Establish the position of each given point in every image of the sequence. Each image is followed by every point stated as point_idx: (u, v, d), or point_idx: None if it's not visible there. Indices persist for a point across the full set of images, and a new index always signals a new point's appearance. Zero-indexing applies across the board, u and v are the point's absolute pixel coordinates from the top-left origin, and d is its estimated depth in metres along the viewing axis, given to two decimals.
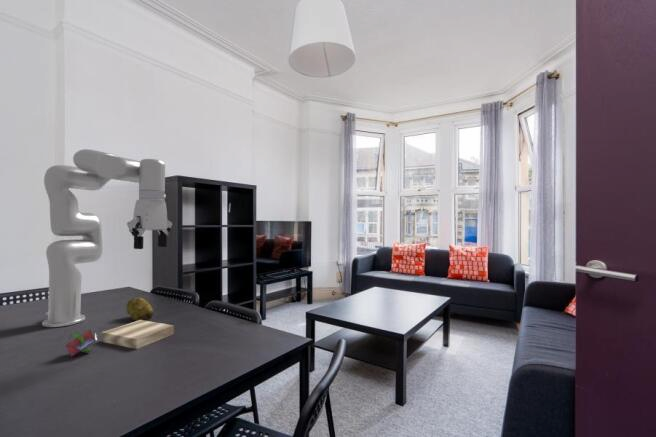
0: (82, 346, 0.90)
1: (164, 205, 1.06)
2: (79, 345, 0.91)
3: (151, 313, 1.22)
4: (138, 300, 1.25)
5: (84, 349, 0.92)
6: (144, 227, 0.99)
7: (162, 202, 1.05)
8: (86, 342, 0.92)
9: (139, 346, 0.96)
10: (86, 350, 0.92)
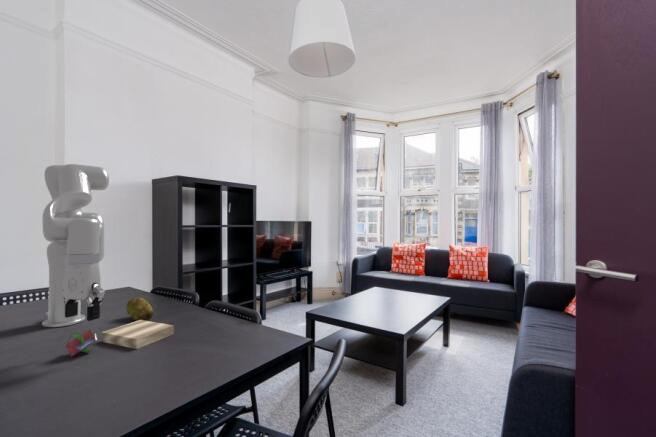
0: (82, 346, 0.90)
1: None
2: (79, 345, 0.91)
3: (151, 313, 1.22)
4: (138, 300, 1.25)
5: (84, 349, 0.92)
6: None
7: None
8: (86, 342, 0.92)
9: (139, 346, 0.96)
10: (86, 350, 0.92)
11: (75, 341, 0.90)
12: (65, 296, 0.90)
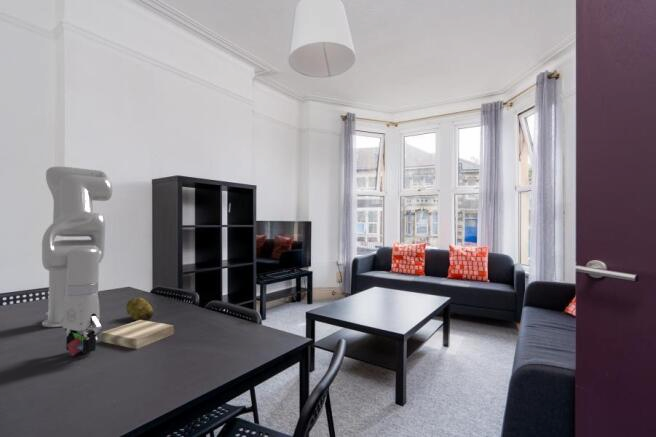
0: (82, 346, 0.90)
1: None
2: (79, 345, 0.91)
3: (151, 313, 1.22)
4: (138, 300, 1.25)
5: None
6: None
7: None
8: None
9: (139, 346, 0.96)
10: None
11: (75, 341, 0.90)
12: (64, 326, 0.90)
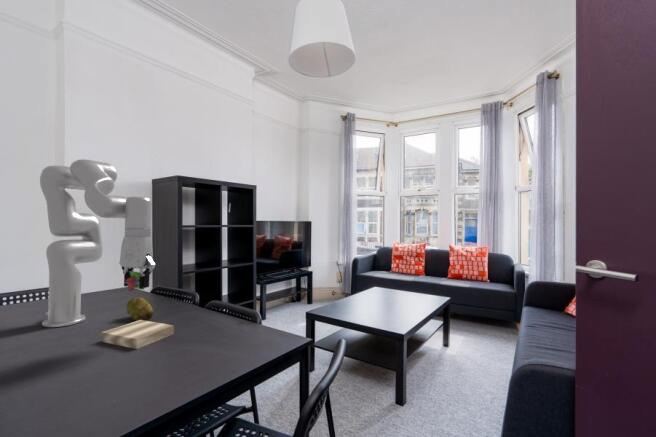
0: (138, 282, 1.02)
1: None
2: (135, 281, 1.03)
3: (151, 313, 1.22)
4: (138, 300, 1.25)
5: None
6: None
7: None
8: None
9: (139, 346, 0.96)
10: None
11: (132, 278, 1.03)
12: (122, 264, 1.03)
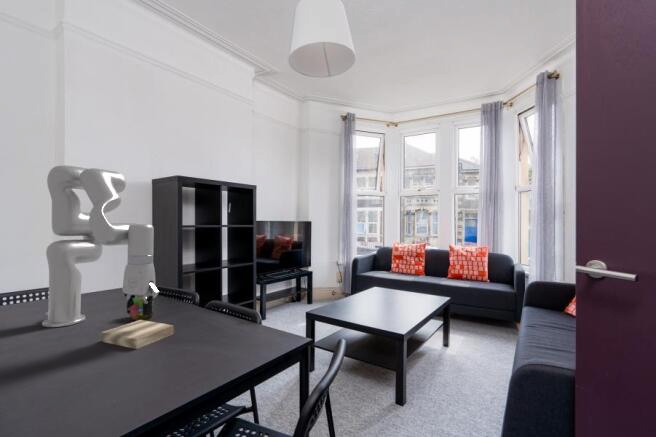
0: (142, 309, 1.03)
1: None
2: (139, 308, 1.04)
3: None
4: None
5: (142, 312, 1.05)
6: None
7: None
8: None
9: (139, 346, 0.96)
10: None
11: (135, 305, 1.03)
12: (125, 292, 1.03)
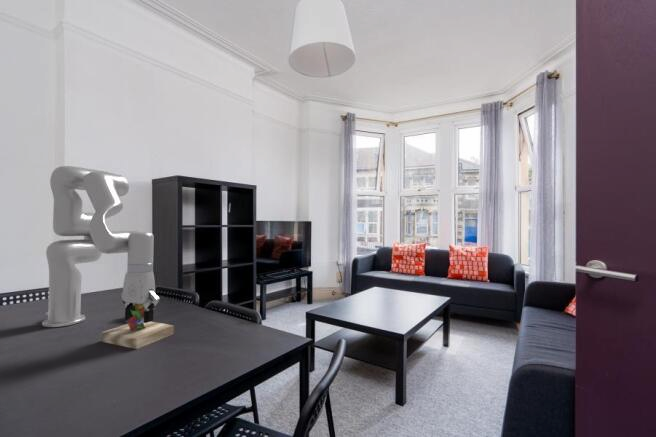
0: (140, 321, 1.03)
1: None
2: (137, 321, 1.04)
3: None
4: None
5: (140, 325, 1.05)
6: None
7: None
8: (142, 318, 1.05)
9: (139, 346, 0.96)
10: None
11: (133, 317, 1.03)
12: (125, 300, 1.03)
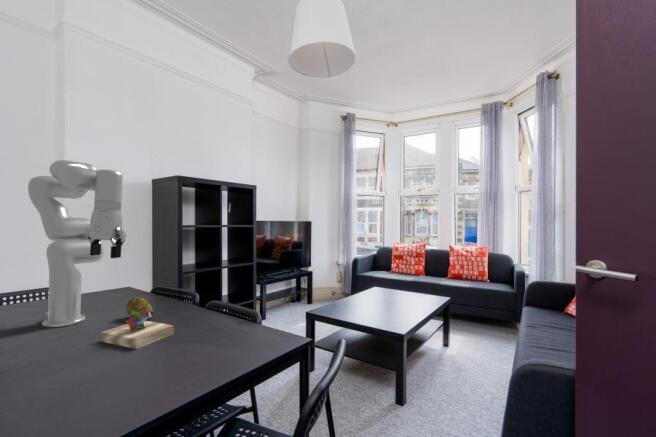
0: (140, 321, 1.03)
1: None
2: (137, 321, 1.04)
3: (151, 313, 1.22)
4: (138, 300, 1.25)
5: (140, 325, 1.05)
6: None
7: None
8: (142, 318, 1.05)
9: (139, 346, 0.96)
10: None
11: (133, 317, 1.03)
12: (91, 236, 1.04)
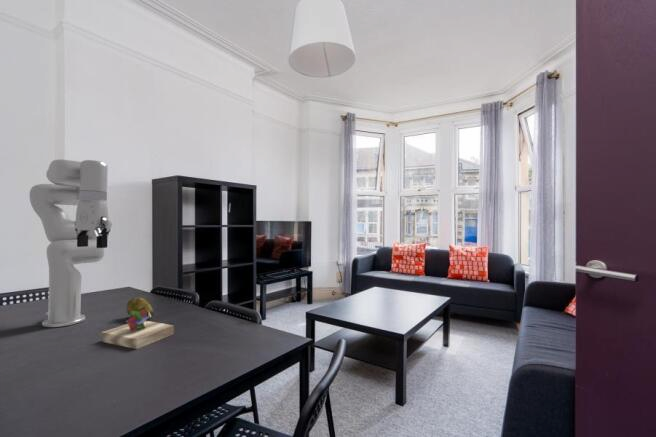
0: (140, 321, 1.03)
1: None
2: (137, 321, 1.04)
3: (151, 313, 1.22)
4: (138, 300, 1.25)
5: (140, 325, 1.05)
6: None
7: None
8: (142, 318, 1.05)
9: (139, 346, 0.96)
10: None
11: (133, 317, 1.03)
12: (77, 227, 1.04)
